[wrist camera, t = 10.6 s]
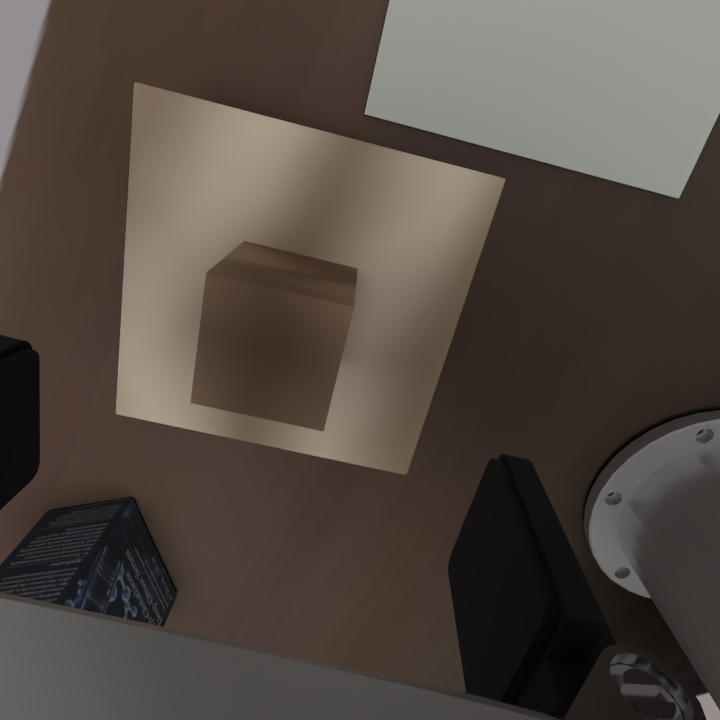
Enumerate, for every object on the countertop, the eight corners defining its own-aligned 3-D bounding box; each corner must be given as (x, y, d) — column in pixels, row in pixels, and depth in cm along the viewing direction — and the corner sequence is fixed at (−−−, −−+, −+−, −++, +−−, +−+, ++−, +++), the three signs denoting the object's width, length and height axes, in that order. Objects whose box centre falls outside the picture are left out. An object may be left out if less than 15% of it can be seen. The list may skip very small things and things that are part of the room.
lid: (498, 176, 18) (550, 192, 13) (404, 461, 22) (415, 555, 17) (147, 84, 17) (50, 62, 12) (126, 402, 21) (51, 483, 16)
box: (180, 592, 33) (101, 785, 23) (97, 604, 33) (-15, 797, 23) (135, 493, 29) (20, 668, 20) (44, 508, 30) (-111, 685, 20)
